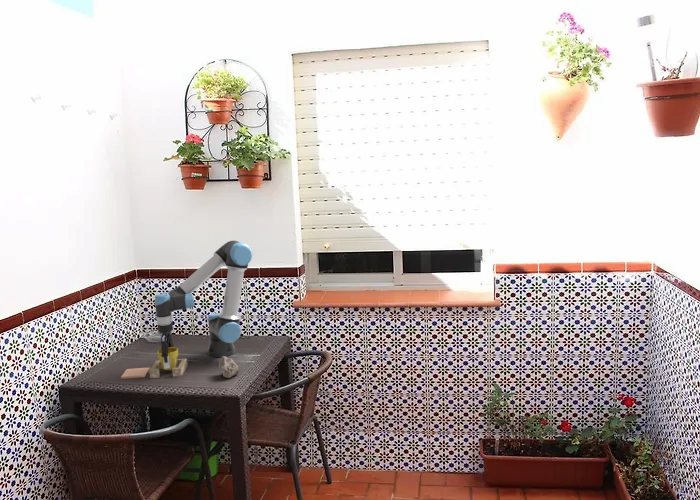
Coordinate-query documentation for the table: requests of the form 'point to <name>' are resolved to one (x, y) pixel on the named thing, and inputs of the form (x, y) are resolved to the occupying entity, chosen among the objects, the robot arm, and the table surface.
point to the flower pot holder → (176, 371)
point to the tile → (135, 373)
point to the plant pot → (172, 357)
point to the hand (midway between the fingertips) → (169, 364)
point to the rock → (228, 367)
